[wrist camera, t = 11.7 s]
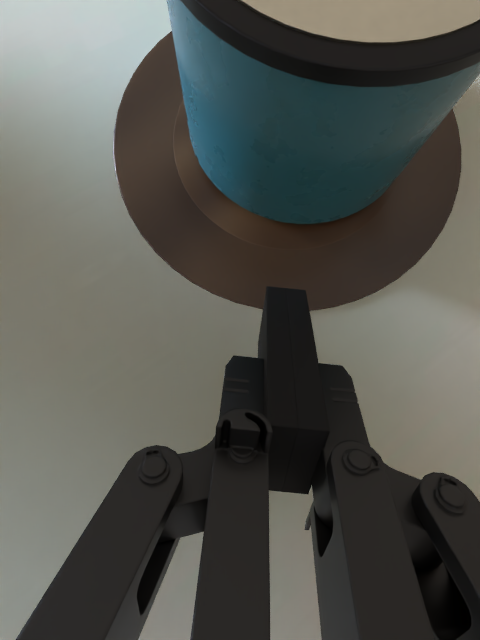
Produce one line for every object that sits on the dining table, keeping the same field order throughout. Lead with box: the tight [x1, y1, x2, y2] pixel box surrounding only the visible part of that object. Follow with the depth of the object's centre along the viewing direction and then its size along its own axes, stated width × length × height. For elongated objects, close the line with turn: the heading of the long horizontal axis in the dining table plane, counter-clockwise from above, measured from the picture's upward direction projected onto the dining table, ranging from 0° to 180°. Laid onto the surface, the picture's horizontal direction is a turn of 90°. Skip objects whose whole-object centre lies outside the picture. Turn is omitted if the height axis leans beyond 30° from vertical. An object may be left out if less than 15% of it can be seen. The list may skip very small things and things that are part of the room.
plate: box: [113, 31, 461, 311], centre depth 21 cm, size 19×19×1 cm
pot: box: [167, 0, 480, 224], centre depth 16 cm, size 12×16×10 cm
